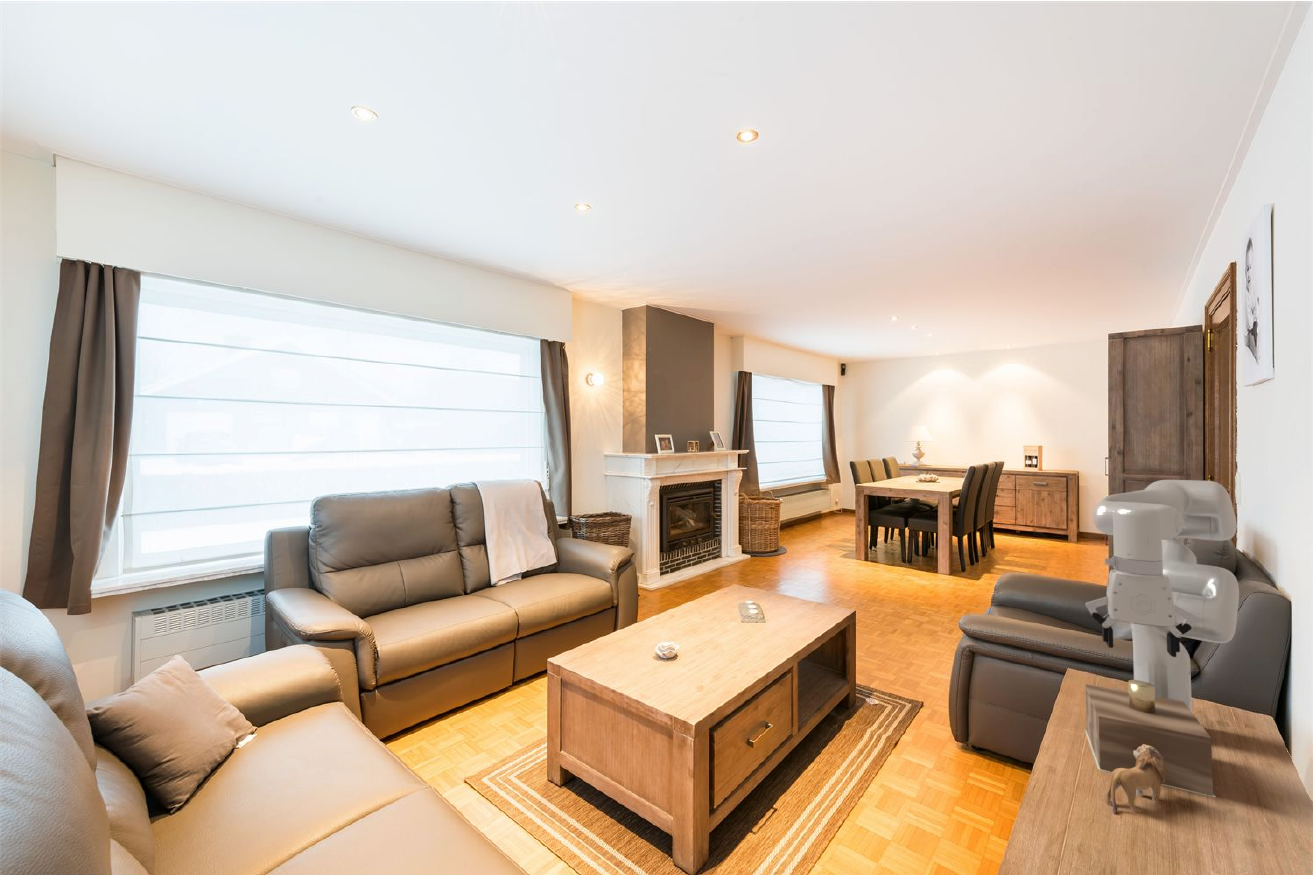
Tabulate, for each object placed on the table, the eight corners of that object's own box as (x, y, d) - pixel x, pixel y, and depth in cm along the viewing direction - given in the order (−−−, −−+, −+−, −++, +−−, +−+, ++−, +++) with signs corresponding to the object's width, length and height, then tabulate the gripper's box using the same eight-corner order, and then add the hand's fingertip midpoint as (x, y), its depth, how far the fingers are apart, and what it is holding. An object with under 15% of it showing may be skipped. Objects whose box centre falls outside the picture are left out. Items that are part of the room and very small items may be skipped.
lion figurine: (1137, 783, 103) (1136, 736, 103) (1173, 799, 98) (1172, 750, 98) (1097, 807, 96) (1096, 757, 96) (1134, 826, 92) (1132, 773, 92)
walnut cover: (1086, 731, 121) (1084, 662, 121) (1184, 751, 112) (1182, 677, 112) (1100, 768, 107) (1097, 690, 107) (1213, 795, 98) (1210, 710, 98)
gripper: (1087, 565, 111) (1089, 648, 111) (1202, 575, 102) (1204, 665, 102) (1081, 559, 118) (1083, 637, 117) (1189, 567, 109) (1191, 652, 108)
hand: (1139, 650), depth 109 cm, fingers open, 9 cm apart
